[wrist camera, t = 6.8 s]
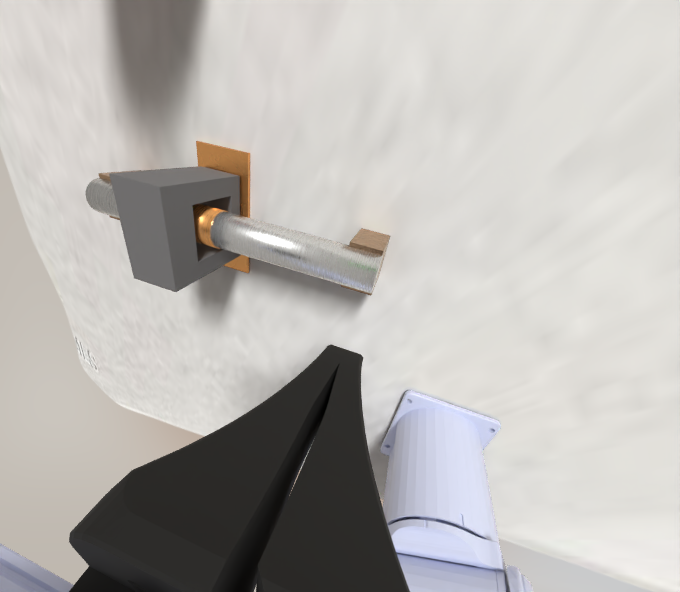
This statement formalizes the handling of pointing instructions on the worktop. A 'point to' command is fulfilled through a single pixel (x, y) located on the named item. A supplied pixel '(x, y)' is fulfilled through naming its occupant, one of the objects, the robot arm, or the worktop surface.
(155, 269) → the collar
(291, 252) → the rail
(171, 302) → the worktop surface
